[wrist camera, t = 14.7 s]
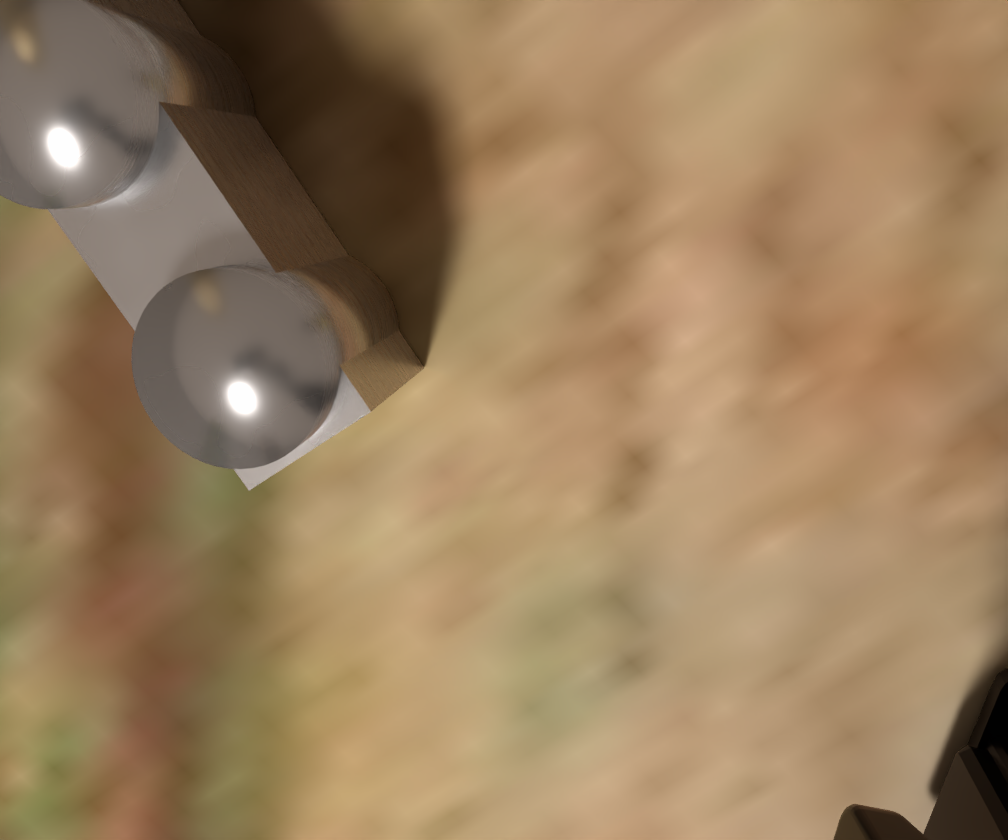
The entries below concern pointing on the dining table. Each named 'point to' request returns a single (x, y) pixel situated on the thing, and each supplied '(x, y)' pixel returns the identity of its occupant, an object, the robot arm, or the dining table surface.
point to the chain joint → (193, 231)
